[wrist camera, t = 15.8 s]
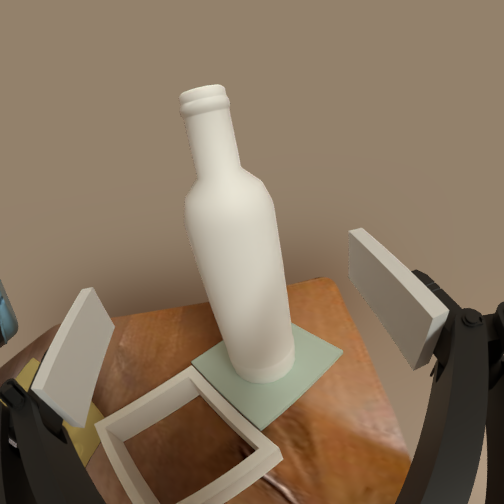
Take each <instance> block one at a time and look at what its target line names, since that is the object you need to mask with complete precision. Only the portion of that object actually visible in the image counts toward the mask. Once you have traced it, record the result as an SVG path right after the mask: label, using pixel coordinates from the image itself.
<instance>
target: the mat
mask: <svg viewBox="0 0 504 504" xmlns="http://www.w3.org/2000/svg"><path fill="white" fill-rule="evenodd" d="M291 327H292V335H293V337H294V345H295V361H294V364H293V367H292V369H291V370H290V371H289V372H288V373H287V374H286V375H285V376H284V377H282V378H280V379H278V380H277V381H275V382H270V383H266V384H257V383H251V382H248V381H246V380H244V379H242V378H241V377H240V376H239V375H238V374H237V373H236V371H235V368H234V367H233V365H232V363H231V361H230V358H229V355H228V351H227V348H226V345H225V343H224V340H222V341H221V342H220V343H218V344H217V345H215V346H214V347H212V348H211V349H209V350H208V351H206V352H205V353H203V354H202V355H200V356H199V357H197V358H196V359H194V360H193V361H191V363H192V365H193V366H194V367H195V368H196V369H197V370H198V371H199V372H200V373H201V374H202V375H203V376H204V377H205V378H206V380H207V381H208V382H209V383H210V384H211V385H212V386H213V387H214V388H215V389H216V390H217V391H218V392H219V393H220V394H221V395H222V396H223V397H224V398H225V399H226V400H227V401H228V402H229V403H231V404H232V405H233V406H234V407H235V408H236V409H237V410H238V411H239V412H240V413H241V414H242V415H243V416H244V417H246V418H247V419H248V420H249V421H250V422H251V423H252V424H253V425H254V426H256V427H257V428H258V429H259V430H260V431H262V430H263V429H264V428H265V427H267V426H268V425H269V424H270V423H271V422H272V421H274V420H275V419H276V418H277V417H278V416H279V415H281V414H282V413H283V412H284V411H285V410H286V409H287V408H289V407H290V406H291V405H292V404H293V403H294V402H295V401H296V400H297V399H298V398H299V397H301V396H302V395H303V394H304V393H305V392H306V391H307V390H308V389H309V388H310V387H311V386H312V385H313V384H314V383H315V382H316V381H317V380H318V379H319V378H320V377H321V376H322V375H323V374H324V373H325V372H326V371H327V370H328V369H329V368H330V367H331V366H332V365H333V364H334V363H335V361H336V360H337V359H338V358H339V357H340V356H341V355H342V354H343V350H341V349H339V348H337V347H335V346H333V345H332V344H330V343H328V342H326V341H324V340H322V339H320V338H318V337H317V336H315V335H313V334H311V333H309V332H307V331H305V330H304V329H302V328H300V327H298V326H296V325H295V324H293V323H291Z"/></svg>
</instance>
